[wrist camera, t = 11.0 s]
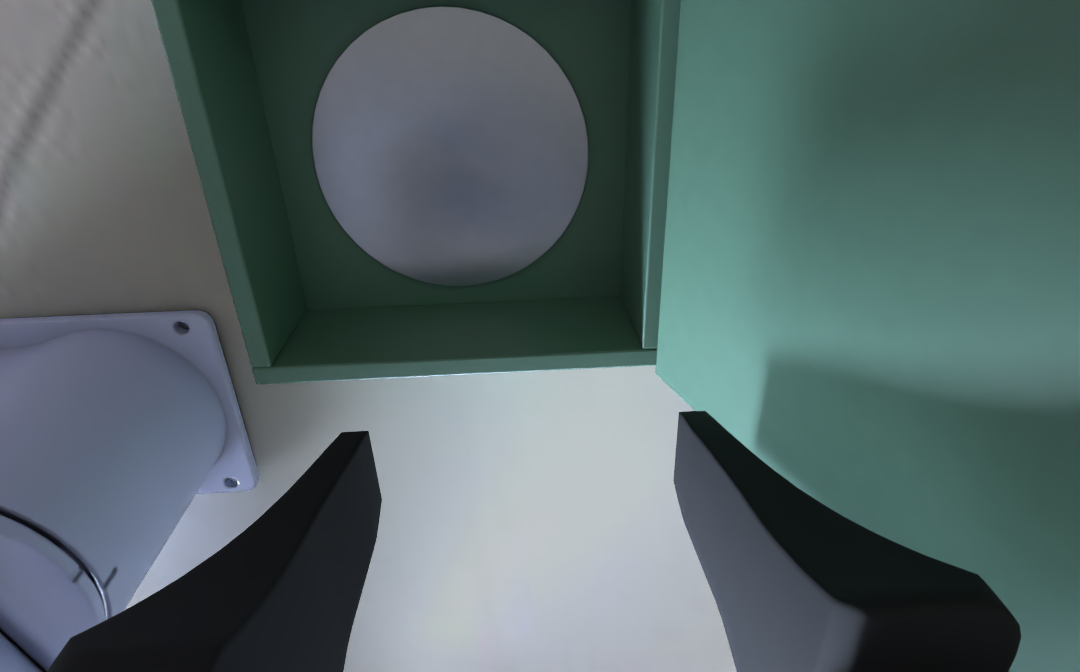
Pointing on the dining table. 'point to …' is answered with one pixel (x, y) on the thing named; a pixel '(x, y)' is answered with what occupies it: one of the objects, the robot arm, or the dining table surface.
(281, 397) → the dining table surface
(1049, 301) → the lid
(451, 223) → the plate
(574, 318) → the box
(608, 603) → the dining table surface
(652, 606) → the dining table surface
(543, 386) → the dining table surface
